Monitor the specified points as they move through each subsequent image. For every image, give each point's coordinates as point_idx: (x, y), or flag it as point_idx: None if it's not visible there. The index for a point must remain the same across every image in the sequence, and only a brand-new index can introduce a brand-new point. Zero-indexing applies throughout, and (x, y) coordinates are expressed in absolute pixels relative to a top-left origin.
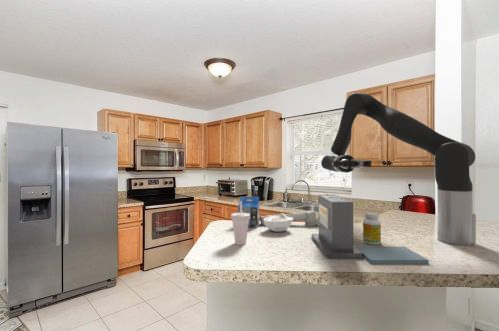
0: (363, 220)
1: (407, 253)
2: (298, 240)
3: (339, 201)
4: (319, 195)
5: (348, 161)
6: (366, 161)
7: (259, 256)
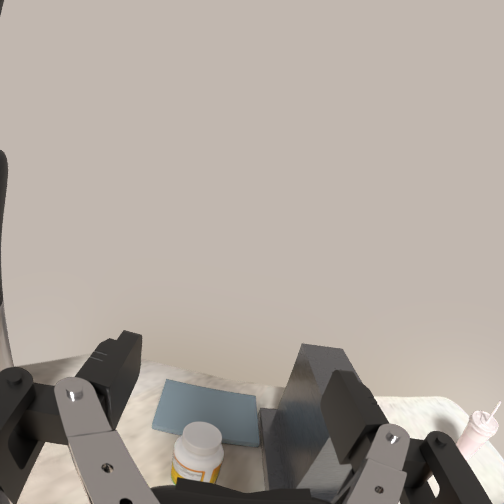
0: (222, 457)
1: (177, 401)
2: None
3: (328, 351)
4: None
5: (304, 490)
6: (127, 360)
7: (406, 423)
